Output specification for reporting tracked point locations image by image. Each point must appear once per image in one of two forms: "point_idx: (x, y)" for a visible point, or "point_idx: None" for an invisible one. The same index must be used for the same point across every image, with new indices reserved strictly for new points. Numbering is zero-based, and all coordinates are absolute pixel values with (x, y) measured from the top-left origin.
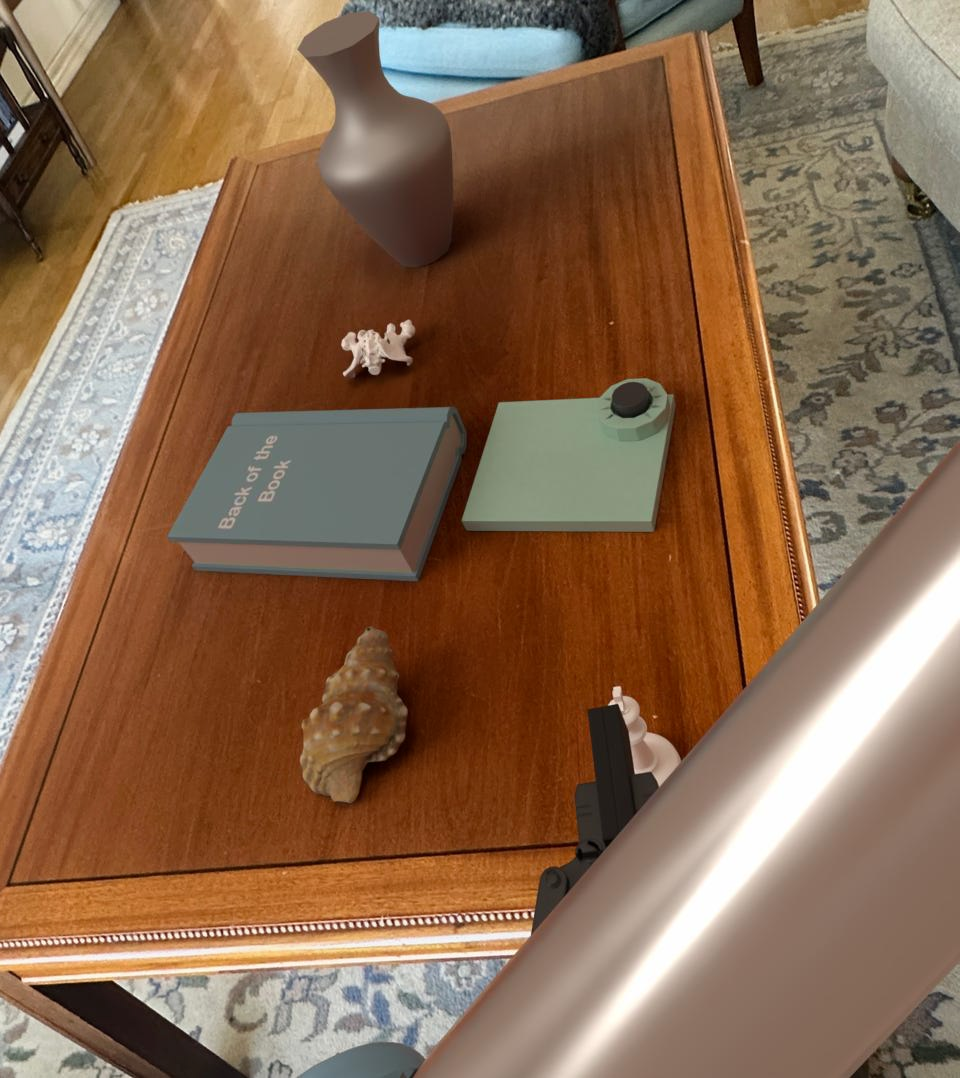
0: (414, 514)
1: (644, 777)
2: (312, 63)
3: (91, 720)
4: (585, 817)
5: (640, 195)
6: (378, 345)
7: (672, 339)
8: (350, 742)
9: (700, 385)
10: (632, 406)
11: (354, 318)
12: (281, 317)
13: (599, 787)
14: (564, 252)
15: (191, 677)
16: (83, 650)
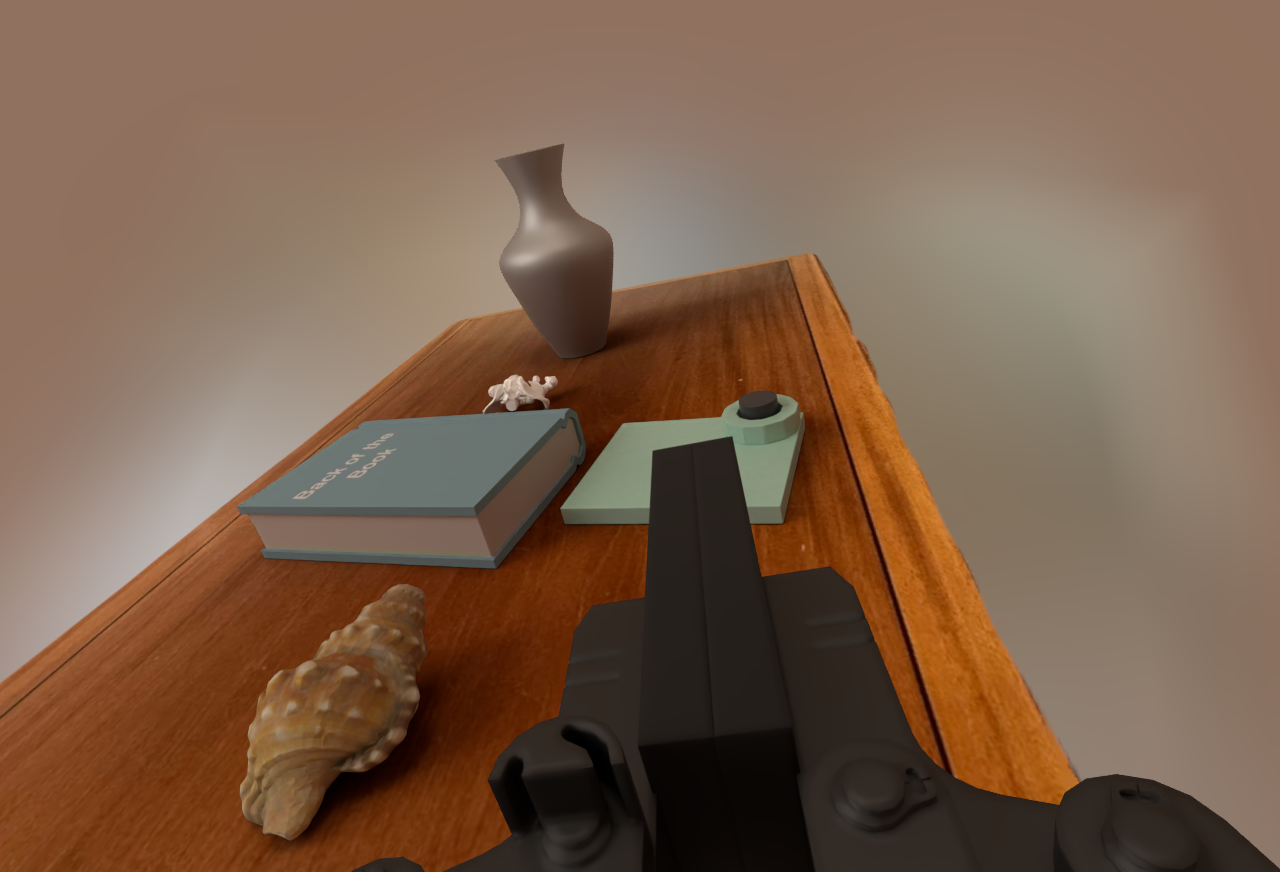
0: (506, 491)
1: (808, 581)
2: (503, 166)
3: (43, 706)
4: (593, 689)
5: (769, 315)
6: (519, 383)
7: (800, 386)
8: (310, 726)
9: (830, 413)
10: (760, 406)
11: None
12: (448, 388)
13: (655, 585)
14: (701, 345)
15: (190, 661)
16: (97, 630)
